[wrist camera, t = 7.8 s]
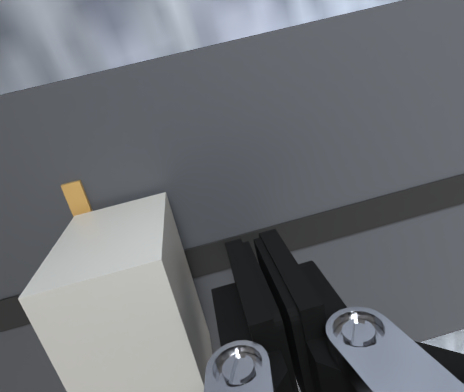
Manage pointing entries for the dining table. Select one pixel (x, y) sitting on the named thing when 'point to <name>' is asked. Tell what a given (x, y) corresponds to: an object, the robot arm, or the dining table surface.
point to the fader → (120, 303)
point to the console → (258, 164)
